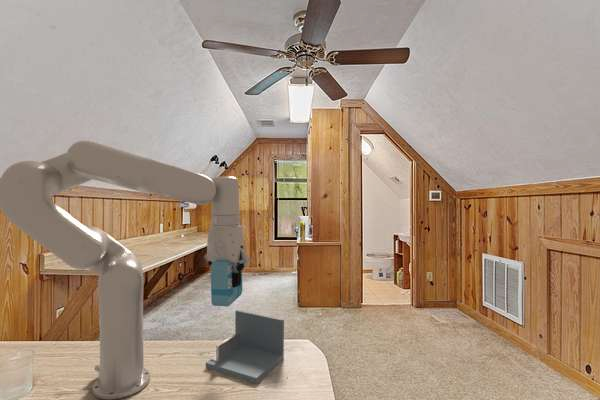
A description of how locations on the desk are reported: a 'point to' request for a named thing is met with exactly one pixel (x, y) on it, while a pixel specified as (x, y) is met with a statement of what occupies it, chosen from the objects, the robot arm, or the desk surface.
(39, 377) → the desk surface
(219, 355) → the bookend
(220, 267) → the data package
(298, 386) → the desk surface
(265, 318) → the l-shaped stand
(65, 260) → the robot arm
